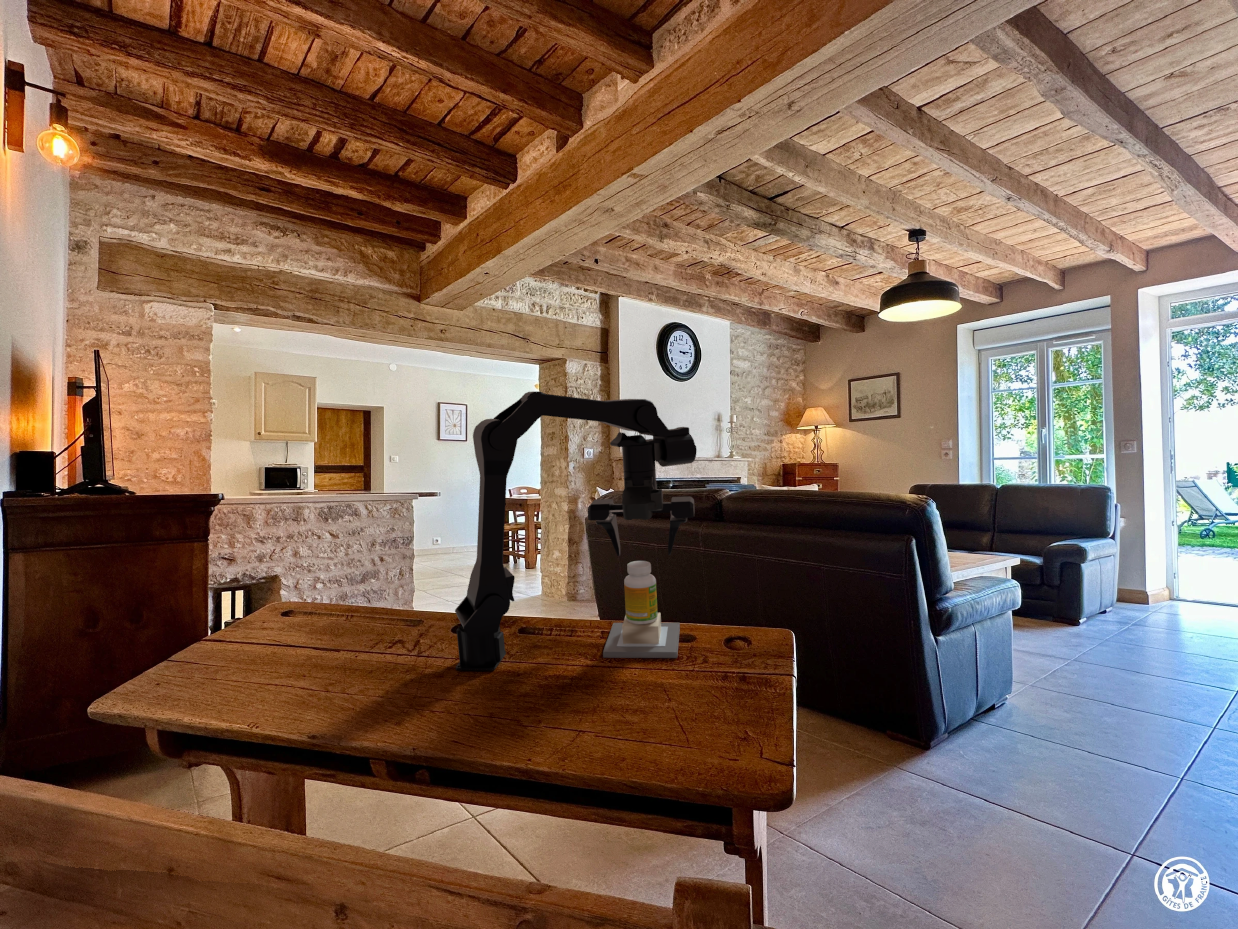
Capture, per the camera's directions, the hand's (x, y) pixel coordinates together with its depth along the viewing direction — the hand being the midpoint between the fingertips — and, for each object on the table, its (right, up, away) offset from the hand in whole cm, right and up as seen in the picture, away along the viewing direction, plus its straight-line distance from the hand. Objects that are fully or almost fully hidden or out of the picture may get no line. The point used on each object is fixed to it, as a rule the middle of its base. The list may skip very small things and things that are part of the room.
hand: (644, 555), depth 113 cm
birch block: (-1, -13, -6) cm, 14 cm away
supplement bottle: (-1, -10, -6) cm, 12 cm away
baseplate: (0, -14, -6) cm, 15 cm away
